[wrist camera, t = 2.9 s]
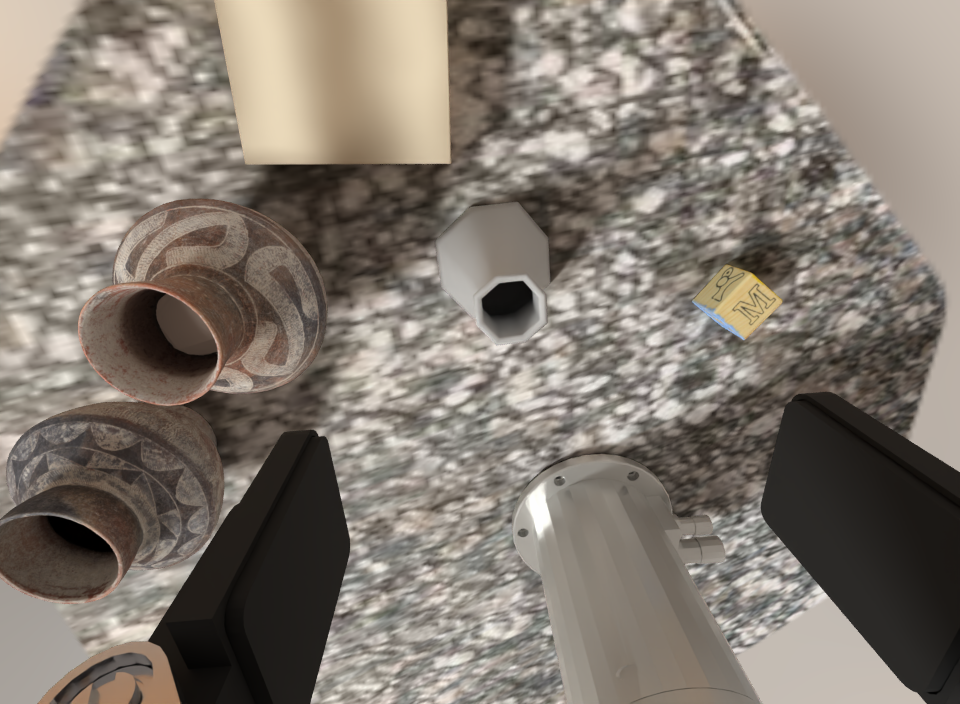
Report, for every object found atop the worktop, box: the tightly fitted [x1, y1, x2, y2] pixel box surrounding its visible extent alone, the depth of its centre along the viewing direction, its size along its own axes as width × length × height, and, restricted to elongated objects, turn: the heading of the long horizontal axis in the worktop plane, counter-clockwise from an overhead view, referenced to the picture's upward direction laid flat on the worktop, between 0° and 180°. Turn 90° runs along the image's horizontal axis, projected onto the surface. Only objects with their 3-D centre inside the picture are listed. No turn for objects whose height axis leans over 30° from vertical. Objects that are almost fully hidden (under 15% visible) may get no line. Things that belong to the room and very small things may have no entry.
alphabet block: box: [692, 264, 783, 340], centre depth 28 cm, size 3×3×3 cm
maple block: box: [214, 0, 451, 164], centre depth 22 cm, size 10×10×4 cm
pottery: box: [0, 199, 327, 604], centre depth 25 cm, size 11×25×12 cm, turn 144°
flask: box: [435, 202, 550, 345], centre depth 24 cm, size 7×7×10 cm
